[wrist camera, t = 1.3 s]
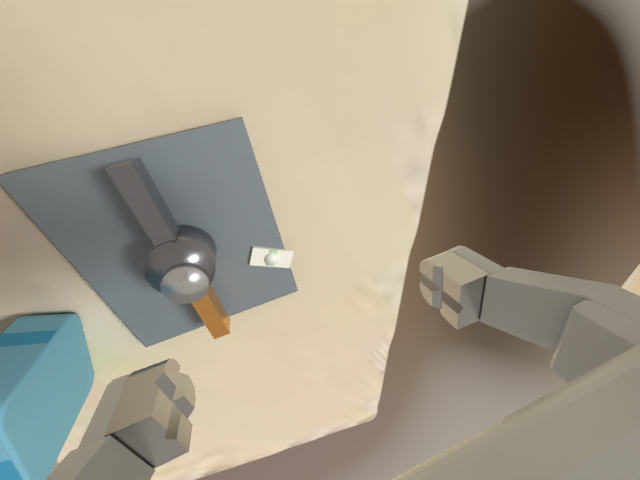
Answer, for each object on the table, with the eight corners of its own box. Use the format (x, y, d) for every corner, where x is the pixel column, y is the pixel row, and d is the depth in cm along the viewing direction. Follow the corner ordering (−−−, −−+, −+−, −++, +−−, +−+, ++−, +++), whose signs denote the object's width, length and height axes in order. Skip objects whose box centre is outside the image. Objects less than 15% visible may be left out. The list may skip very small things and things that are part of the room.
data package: (23, 309, 26) (-103, 434, 16) (78, 306, 28) (-6, 419, 18) (51, 384, 31) (-33, 517, 21) (96, 378, 33) (38, 499, 23)
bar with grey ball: (96, 166, 21) (64, 181, 17) (169, 148, 22) (155, 158, 18) (199, 322, 32) (194, 355, 27) (245, 305, 33) (248, 334, 29)
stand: (7, 172, 21) (-14, 179, 19) (251, 114, 25) (253, 115, 23) (148, 338, 32) (144, 352, 31) (301, 281, 36) (305, 291, 34)
